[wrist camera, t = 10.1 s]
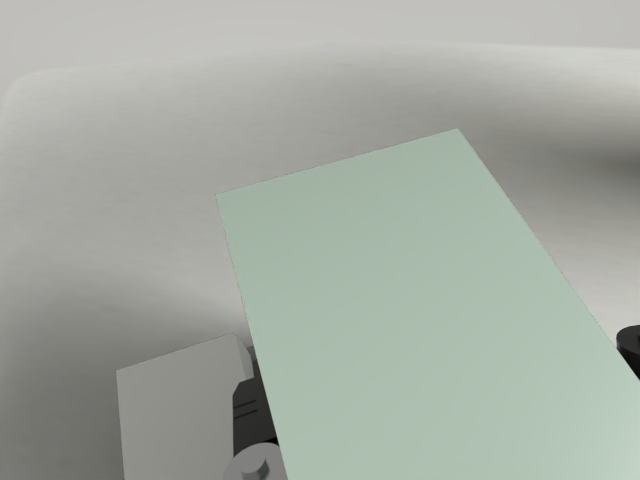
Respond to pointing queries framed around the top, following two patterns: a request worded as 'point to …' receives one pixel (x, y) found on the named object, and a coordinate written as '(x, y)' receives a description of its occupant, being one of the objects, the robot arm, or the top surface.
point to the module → (423, 327)
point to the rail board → (182, 410)
